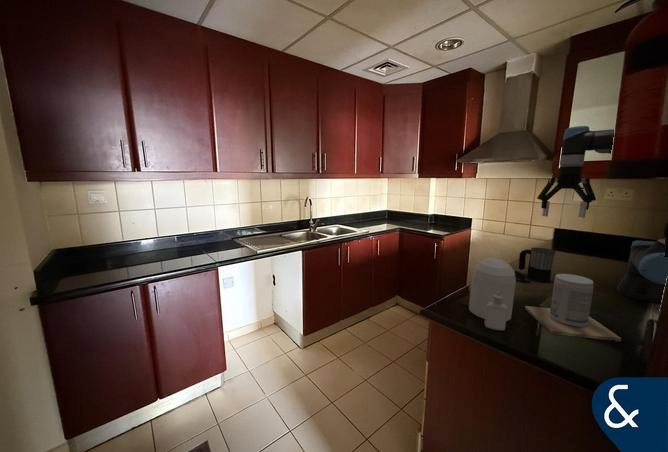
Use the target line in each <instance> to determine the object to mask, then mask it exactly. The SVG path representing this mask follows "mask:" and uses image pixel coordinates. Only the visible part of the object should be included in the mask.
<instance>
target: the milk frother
mask: <svg viewBox="0 0 668 452" xmlns="http://www.w3.org/2000/svg"><path fill="white" fill-rule="evenodd" d="M527 254H528V255H529V261H528V265H527V271H526V273H527V275H526V274H524V273H522V272H520V271H517V270H514V272H515V278H517V279H518V280H520V282H525V283H530V282H531V281H533V282H539V283H545V284H546V283H551V275H552V268H553V263H554V258H555V254H556V250H553V249H550V248H545V247H535V246H534V247H531V248H530V249H528V248H527V249H523V250H521V251H520V253H519V257H518V270H521V271H522V270H525V269H526V257H527Z"/></svg>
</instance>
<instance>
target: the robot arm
mask: <svg viewBox="0 0 668 452" xmlns="http://www.w3.org/2000/svg"><path fill="white" fill-rule="evenodd" d="M563 134H564V135H563V139H562V145H561V152H560V153H561V154H560V158H559V160H560V161H559V167H558V172H557V178H555V177H549V178H548V180H547V183H546V185H545V186H544V187H543V189H542V190H541V192H540V193H539V194H538V196H537V199H538V200H540V201H541V209H542V217H545V218H546V217H549V211H550V210H549V209H550V204H551V203H550V202H551V201H550V200H551V198H552V197H554V196H555V195H556V194H557V193H558V192H560V190H562V189H563V190H564V189H565V190H567V189H568V190H569V189H570V190H574V191H575V192H576V194H577V195H578V196H579V198H580V199H581V200H582V201H580V205H579V211H578V218H582V219H585V218H586V213H587V211H588V210H589V209H590V203H592V202H595V201H596V200H597V197H596V195H595V192H594V190H593V188H592V185H591V178H590V177H583V178H581V177H582V175H583V169H584V167H583V165H585V157H586V151H589V152H590V151H594V152H595V153H598V154H602V155H603V154H609V155H612V154H611V150H612V145H613V137H614V128H613V129H602V130H590V127H589V126H587V125H579V126H577V125H576V126H572V127H568V128H566V129H565V130H564V133H563ZM556 183H557V184H556ZM580 183H581V184H582V186H581V185H580ZM555 184H556V185H555ZM553 186H554V187H553ZM552 187H553V188H552ZM582 187H583V188H584V190H583V189H582ZM665 239H666V238H661V239H660V238H659V239H657V240H656V241H649V240H634V241H632V244H631V246H630V252H629V257H628V263H627V266H626V271H625V274H624V276H623V278H622V279H621V280H620V282H619V283H618V284H617V286H616V292H618V294H621V295H623V296H625V297H629V298H631V299H632V298H633V299H636V300H639V301H643V302H648V303H654V304H662V303H661V300H662V295H663V290H664V287H665V283H666V278H667V276H668V258H665V257H664V254H665Z"/></svg>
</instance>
